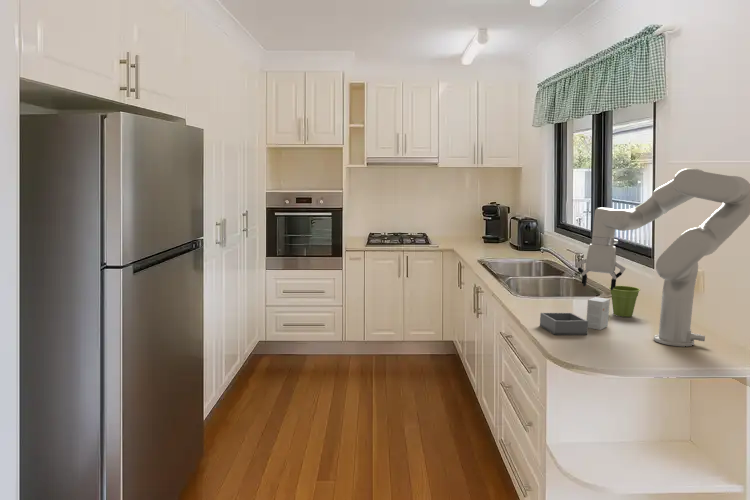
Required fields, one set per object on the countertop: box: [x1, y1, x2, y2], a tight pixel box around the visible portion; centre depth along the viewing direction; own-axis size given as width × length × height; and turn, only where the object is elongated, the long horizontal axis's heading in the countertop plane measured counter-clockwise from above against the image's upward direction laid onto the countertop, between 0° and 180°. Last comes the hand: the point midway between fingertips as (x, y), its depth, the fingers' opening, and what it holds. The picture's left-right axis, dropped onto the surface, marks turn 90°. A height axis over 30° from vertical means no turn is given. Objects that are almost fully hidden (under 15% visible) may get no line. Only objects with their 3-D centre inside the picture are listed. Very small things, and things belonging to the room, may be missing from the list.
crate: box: [539, 312, 589, 336], centre depth 223 cm, size 12×13×5 cm
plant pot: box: [608, 285, 641, 318], centre depth 252 cm, size 12×12×11 cm
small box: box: [586, 296, 611, 331], centre depth 230 cm, size 8×6×10 cm
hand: (598, 287), depth 229 cm, fingers open, 9 cm apart
